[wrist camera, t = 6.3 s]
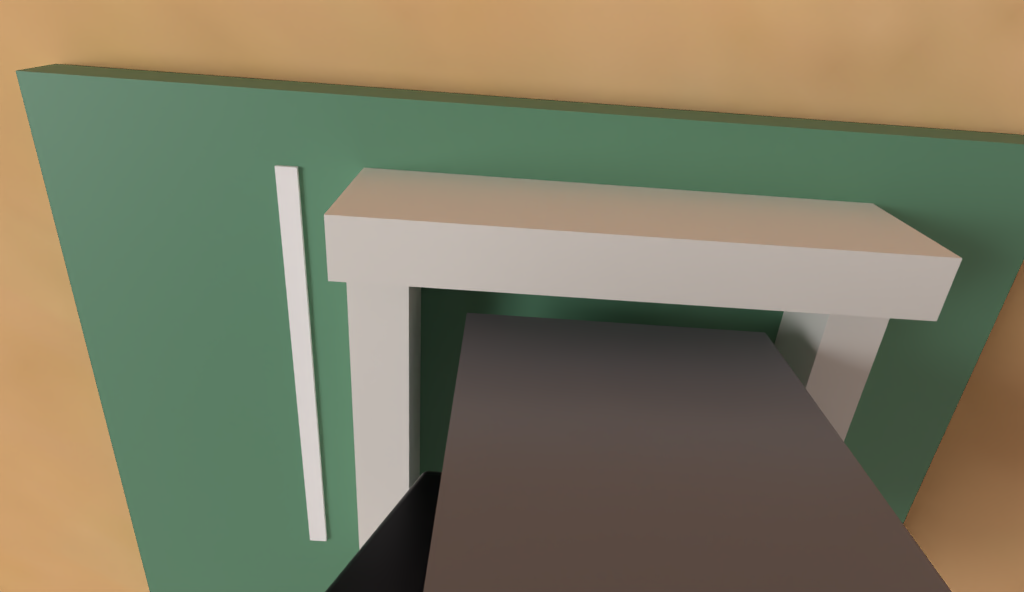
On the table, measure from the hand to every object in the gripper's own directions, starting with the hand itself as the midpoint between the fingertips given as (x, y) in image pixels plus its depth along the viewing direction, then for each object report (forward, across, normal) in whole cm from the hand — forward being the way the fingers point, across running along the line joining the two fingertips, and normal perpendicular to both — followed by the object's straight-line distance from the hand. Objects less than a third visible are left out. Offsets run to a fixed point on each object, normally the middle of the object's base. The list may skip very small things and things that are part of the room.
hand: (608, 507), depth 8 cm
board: (+3, +1, +1) cm, 3 cm away
